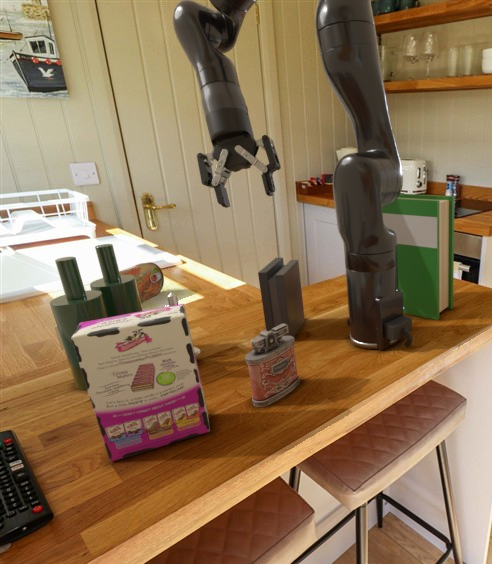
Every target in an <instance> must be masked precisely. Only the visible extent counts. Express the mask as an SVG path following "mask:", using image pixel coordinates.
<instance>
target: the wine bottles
mask: <svg viewBox="0 0 492 564" xmlns="http://www.w3.org/2000/svg"><path fill="white" fill-rule="evenodd" d="M94 248H95V253H96V256H97V260H98V263H99V267H100V271H101V275H102V278H99V279H95V280H93V281H92V282H90V284H89V287H90V289H89V290H85V289H86V288H85V285H84V282H83V279H82V275H81V271H80V268H79V265H78V261H77V258H76V256H64V257H60V258H59V257H58V258H56V259H55V260H54V261H55V265H56V269H57V272H58V276H59V278H60V281H61V284H62V289H63V292H64V294H63V295H59V296H57V297H55V298H53V299H51V300H50V302H49V305H50V309H51V312H52V315H53V318H54V322H55V325H54V326H53V327H54V330H55V331H54V332H55V334H56V337H57V340H58V343H59V347H60V350H61V351H64V353H65V355H66V356H65V357H66V359H67V360H66V361H67V364H68V365H69V369H70V372H71V376H72V379H73V382H74V385H75V388H77V390H81V391H88V390H87V387H86V384H85V381H84V377H83V374H82V371H81V368H80V365H79V362H78V359H77V356H76V353H75V350H74V347H73V344H72V340H71V338H72V336H73V334H74V333H75V331H76V330H77V327H78V325H79V323H81V322H87V321H92V320H98V319H103V318H109V317H114V316H119V315H125V314H130V313H135V312H141V311H144V308H143V305H142V302H141V300H140V296H139V292H138V288H137V284H136V280H135V277H134V276H132V275H120V272H119V271H120V269H119V265H118V261H117V256H116V253H115V249H114V245H113V244H112V243H105V244H98V245H95V246H94Z"/></svg>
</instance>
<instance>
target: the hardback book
mask: <svg viewBox="0 0 492 564" xmlns="http://www.w3.org/2000/svg"><path fill="white" fill-rule="evenodd" d="M382 213H383V221H384V225H385V226H386V227H387V228H390V229H392V230H394V231H395V233H396V235H397V257H398V289H399V290H402V291H403V307H404V309H403V311H404V314H407V315H412V316H417V317H420V318H426V319H431V320H434V321H439V320H440V313H442V312H443V311H444V310H445V309H447V310H453V309H454V268H455V267H454V265H455V263H454V260H455V258H454V257H455V196H454V195H434V194H416V193H415V194H414V193H413V194H412V193H400V195H399V197H398V198H397V199H396V200H395V201H394V202H393V203H391V204H389V205H385V206H382Z"/></svg>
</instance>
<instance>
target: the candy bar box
mask: <svg viewBox="0 0 492 564" xmlns="http://www.w3.org/2000/svg"><path fill="white" fill-rule="evenodd" d="M71 340H72V344H73V347H74V350H75V353H76V356H77V359H78V362H79V365H80V368H81V371H82V374H83V377H84V381H85V384H86V387H87V390H86V391H87V393H88V397H89V401H90V402H91V406H92V409H93V413H94V415H95V419H96V421H97V422H96V423H97V425H98V428H99V431H100V434H101V437H102V440H103V443H104V447H105V450H106V454H107V457H108V460H109V461H110V462H116V461H119V460H123V459H126V458H129V457H132V456H136V455H139V454H142V453H145V452H149V451H151V450H156V449H159V448H163V447H166V446H169V445H172V444H174V443H178V442H181V441H185V440H188V439H191V438H194V437H198V436H200V435H204V434H207V433H209V432H211V428H210V420H209V412H208V406H207V401H206V397H205V393H204V388H203V387H204V386H203V383H202V379H201V375H200V374H201V373H200V370H199V366H198V361H197V357H196V356H195V352H194V347H195V346H194V341H193V338H192V334H191V330H190V326H189V321H188V316H187V312H186V307H185V303H180V304H179V303H178V305H174V306H169V305H168V306H163V307H157V308H151V309H146V310H143V311H141V312H135V313H130V314H125V315H119V316H114V317H109V318H103V319H98V320H92V321H87V322H81V323H79V325H78V327H77V330H76V331H75V333H74V334H73V336H72V338H71Z"/></svg>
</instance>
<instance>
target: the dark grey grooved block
mask: <svg viewBox="0 0 492 564" xmlns="http://www.w3.org/2000/svg"><path fill="white" fill-rule="evenodd" d="M257 275H258V283H259V290H260V296H261V303H262V310H263V318H264V324H265V330H266V331H270V330H272V328H274V327H277V326H279V325H281V324H286V325H288V331H289V332H288V333H286V334H284V335H282V336H292V337H294V338H295V336H296V335H297V334H298V332H299V330H300V328H301V327H302V325H303V323H304V322H305V320H306V318H305V309H304V301H303V292H302V282H301V272H300V263H299V259H290V260H289V261H288V262H287V263H286V264H285V263H284V257H275V258H274V259H272V260H271V261H270V262H269V263H267V265H266V266H264V267H263V268H262V269H261V270H259V271H258V272H257Z"/></svg>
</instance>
